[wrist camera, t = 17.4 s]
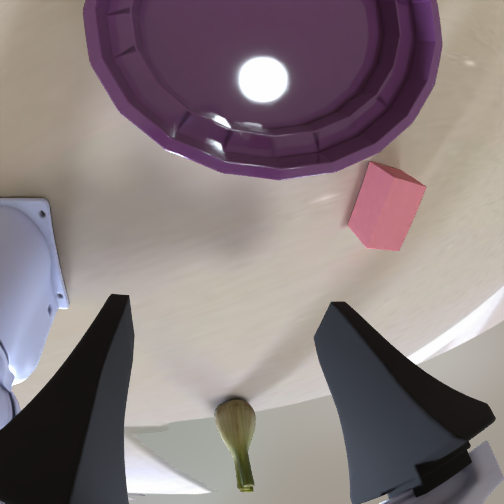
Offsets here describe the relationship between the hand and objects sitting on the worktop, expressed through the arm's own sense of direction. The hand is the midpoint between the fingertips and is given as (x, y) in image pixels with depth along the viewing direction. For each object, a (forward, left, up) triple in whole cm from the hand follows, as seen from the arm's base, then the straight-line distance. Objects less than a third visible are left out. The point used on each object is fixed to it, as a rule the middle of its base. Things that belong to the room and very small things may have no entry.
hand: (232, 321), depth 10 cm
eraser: (+2, -11, -9) cm, 15 cm away
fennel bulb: (-26, -5, -10) cm, 28 cm away
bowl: (+12, -1, -9) cm, 15 cm away
